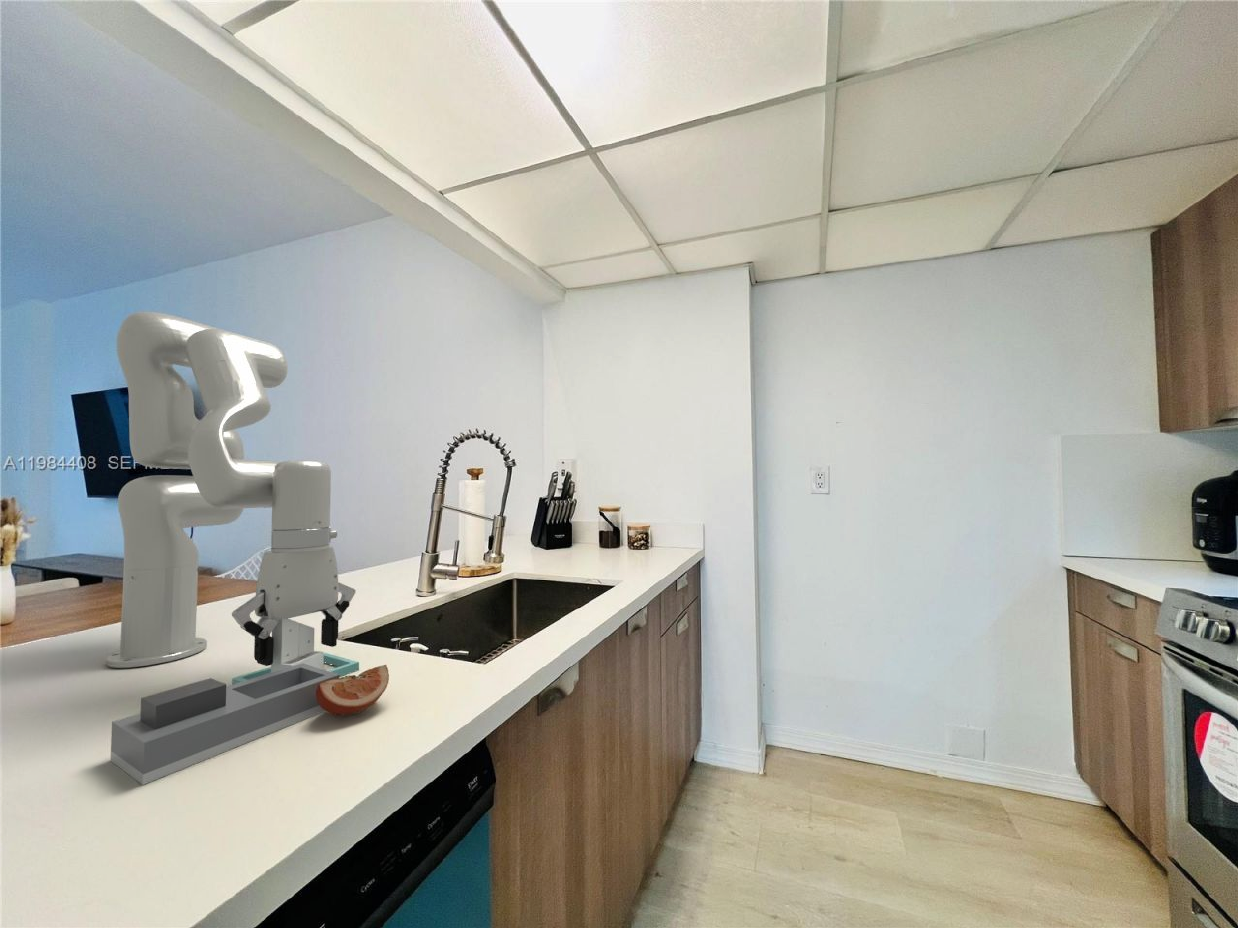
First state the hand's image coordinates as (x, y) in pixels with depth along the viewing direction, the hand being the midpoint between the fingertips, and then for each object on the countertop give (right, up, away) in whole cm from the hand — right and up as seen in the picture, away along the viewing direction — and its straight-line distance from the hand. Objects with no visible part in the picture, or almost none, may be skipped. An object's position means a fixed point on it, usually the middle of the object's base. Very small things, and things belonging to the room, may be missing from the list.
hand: (298, 653), depth 72 cm
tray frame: (0, -4, 0) cm, 4 cm away
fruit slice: (+15, -3, -12) cm, 19 cm away
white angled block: (0, -4, 0) cm, 4 cm away
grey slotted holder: (+3, -3, -16) cm, 16 cm away
